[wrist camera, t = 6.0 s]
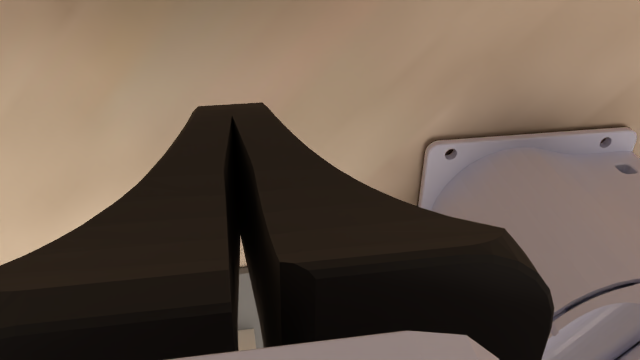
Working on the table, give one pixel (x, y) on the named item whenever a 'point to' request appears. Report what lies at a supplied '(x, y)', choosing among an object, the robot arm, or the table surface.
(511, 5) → the table surface
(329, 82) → the table surface
